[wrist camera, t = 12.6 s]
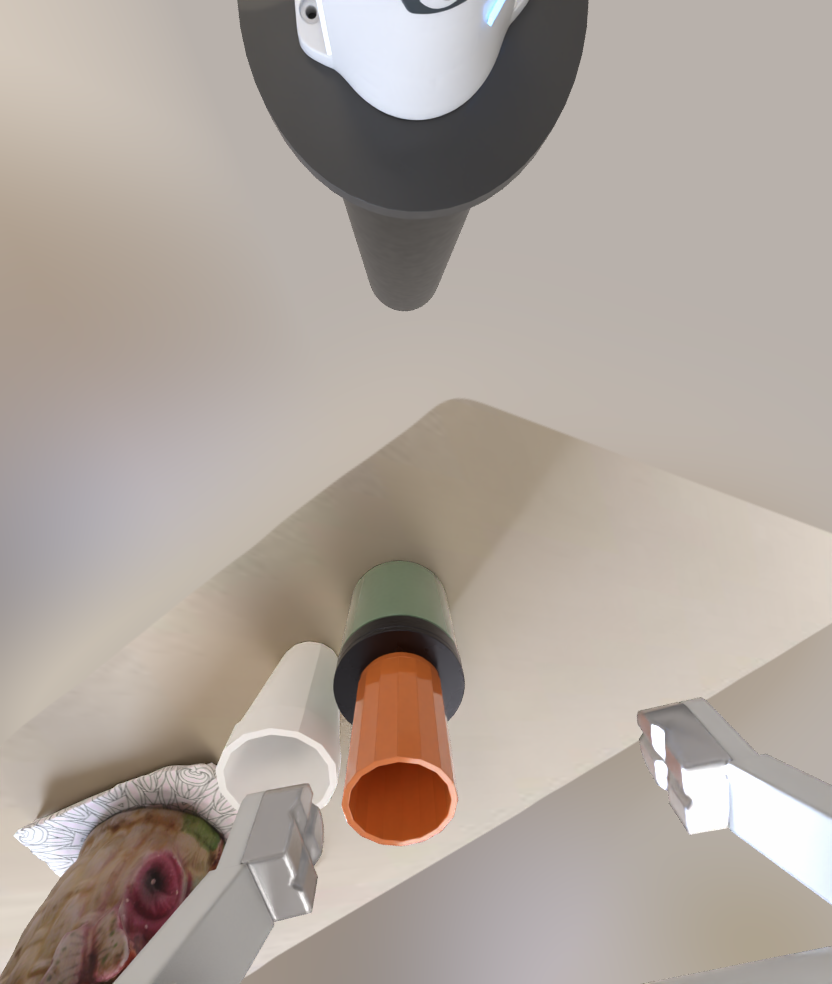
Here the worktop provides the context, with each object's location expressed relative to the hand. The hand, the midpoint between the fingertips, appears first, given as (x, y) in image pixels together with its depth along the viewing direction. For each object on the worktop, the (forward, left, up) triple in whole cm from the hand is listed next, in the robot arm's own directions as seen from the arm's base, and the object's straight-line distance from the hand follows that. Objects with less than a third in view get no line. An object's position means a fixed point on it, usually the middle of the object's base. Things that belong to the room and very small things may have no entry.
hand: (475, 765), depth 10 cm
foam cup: (+18, -16, -31) cm, 39 cm away
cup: (+13, -5, -19) cm, 23 cm away
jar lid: (+13, -5, -19) cm, 24 cm away
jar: (+13, -5, -31) cm, 34 cm away
